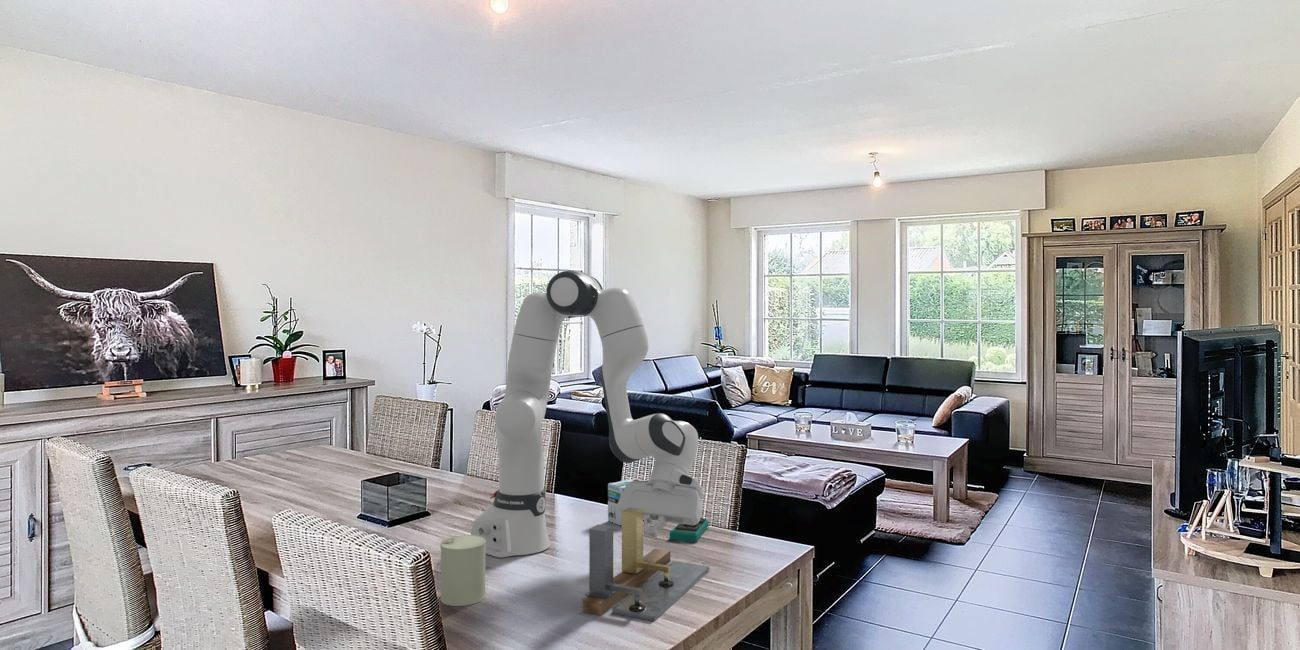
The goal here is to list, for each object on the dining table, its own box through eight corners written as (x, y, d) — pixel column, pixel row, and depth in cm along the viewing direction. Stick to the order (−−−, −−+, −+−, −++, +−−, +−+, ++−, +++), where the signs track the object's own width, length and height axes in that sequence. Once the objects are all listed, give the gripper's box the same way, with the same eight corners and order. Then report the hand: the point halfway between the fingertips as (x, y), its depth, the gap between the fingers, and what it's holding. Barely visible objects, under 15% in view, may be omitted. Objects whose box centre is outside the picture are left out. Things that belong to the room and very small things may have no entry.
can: (445, 589, 156) (444, 533, 155) (489, 588, 156) (489, 532, 156) (436, 607, 146) (435, 547, 146) (483, 605, 147) (482, 546, 147)
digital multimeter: (709, 528, 201) (709, 517, 201) (696, 544, 187) (696, 533, 187) (683, 525, 203) (683, 515, 203) (668, 542, 189) (668, 530, 189)
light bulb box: (621, 526, 201) (621, 487, 200) (606, 521, 206) (606, 483, 205) (651, 519, 208) (651, 481, 207) (635, 514, 213) (635, 477, 213)
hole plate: (612, 613, 143) (612, 607, 143) (672, 564, 171) (672, 559, 171) (654, 621, 140) (654, 615, 140) (709, 570, 167) (709, 565, 167)
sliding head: (621, 576, 158) (621, 511, 158) (629, 571, 162) (629, 507, 161) (666, 584, 154) (666, 517, 154) (672, 579, 157) (672, 513, 157)
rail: (582, 612, 144) (582, 599, 144) (655, 558, 175) (655, 548, 175) (600, 615, 142) (600, 602, 142) (670, 561, 173) (670, 550, 173)
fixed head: (585, 600, 146) (585, 529, 145) (596, 592, 150) (596, 523, 149) (635, 610, 141) (635, 536, 141) (645, 601, 145) (645, 530, 145)
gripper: (624, 472, 178) (605, 522, 169) (703, 480, 169) (687, 534, 161) (632, 486, 182) (614, 536, 174) (710, 495, 173) (694, 548, 165)
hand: (649, 535), depth 167 cm, fingers closed
